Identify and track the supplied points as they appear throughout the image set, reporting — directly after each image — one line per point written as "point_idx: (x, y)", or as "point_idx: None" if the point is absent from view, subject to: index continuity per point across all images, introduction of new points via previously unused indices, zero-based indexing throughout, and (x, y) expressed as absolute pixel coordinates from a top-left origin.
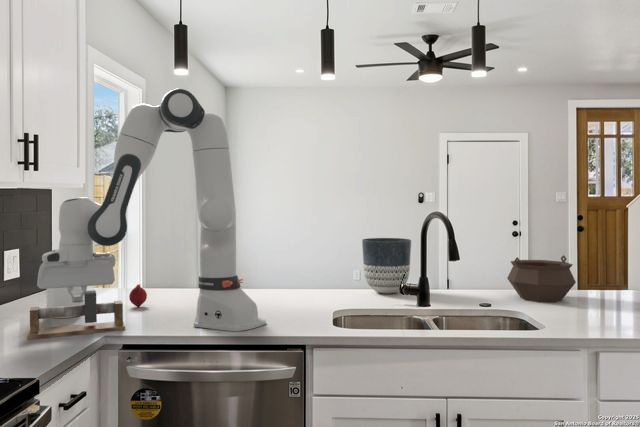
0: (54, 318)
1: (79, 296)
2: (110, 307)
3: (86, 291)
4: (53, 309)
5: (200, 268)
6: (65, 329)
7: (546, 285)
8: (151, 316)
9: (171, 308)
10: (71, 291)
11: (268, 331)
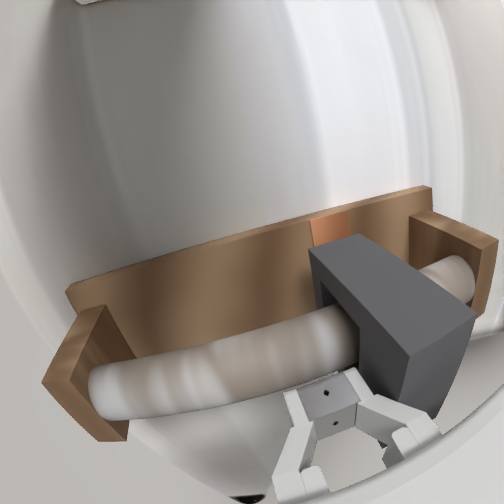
0: (87, 2)
1: (349, 427)
2: None
3: (417, 374)
4: (180, 413)
5: None
6: (225, 319)
7: None
8: (473, 88)
9: (480, 12)
10: (303, 461)
11: None
